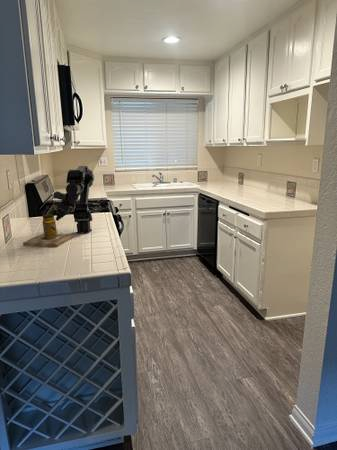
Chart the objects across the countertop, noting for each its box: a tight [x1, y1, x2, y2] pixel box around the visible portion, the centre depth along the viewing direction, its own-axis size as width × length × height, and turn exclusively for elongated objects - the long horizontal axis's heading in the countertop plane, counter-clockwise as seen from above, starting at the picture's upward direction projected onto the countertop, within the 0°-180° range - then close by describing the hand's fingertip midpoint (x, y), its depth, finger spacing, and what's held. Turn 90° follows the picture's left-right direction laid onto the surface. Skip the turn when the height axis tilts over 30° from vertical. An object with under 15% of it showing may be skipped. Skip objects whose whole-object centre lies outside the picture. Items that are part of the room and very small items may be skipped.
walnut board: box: [22, 233, 74, 248], centre depth 157 cm, size 18×16×2 cm
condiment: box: [39, 213, 59, 241], centre depth 155 cm, size 7×8×12 cm
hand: (58, 218), depth 161 cm, fingers open, 9 cm apart
